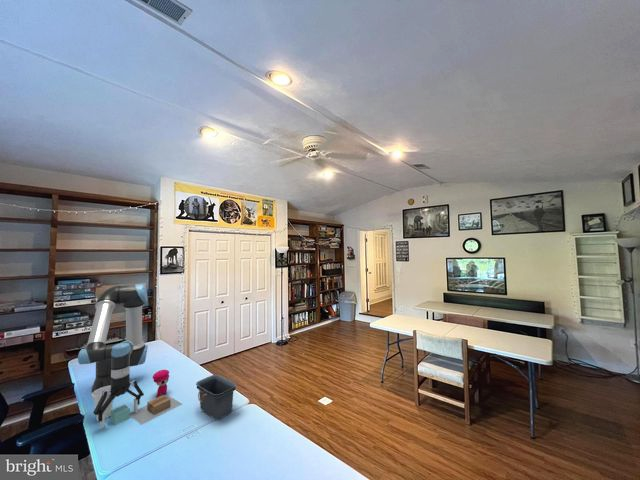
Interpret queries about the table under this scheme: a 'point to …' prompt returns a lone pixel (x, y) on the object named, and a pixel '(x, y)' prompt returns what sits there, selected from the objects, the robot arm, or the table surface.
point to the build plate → (146, 415)
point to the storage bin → (216, 395)
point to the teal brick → (120, 414)
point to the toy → (161, 381)
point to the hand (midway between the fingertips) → (119, 419)
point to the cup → (98, 394)
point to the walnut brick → (158, 404)
